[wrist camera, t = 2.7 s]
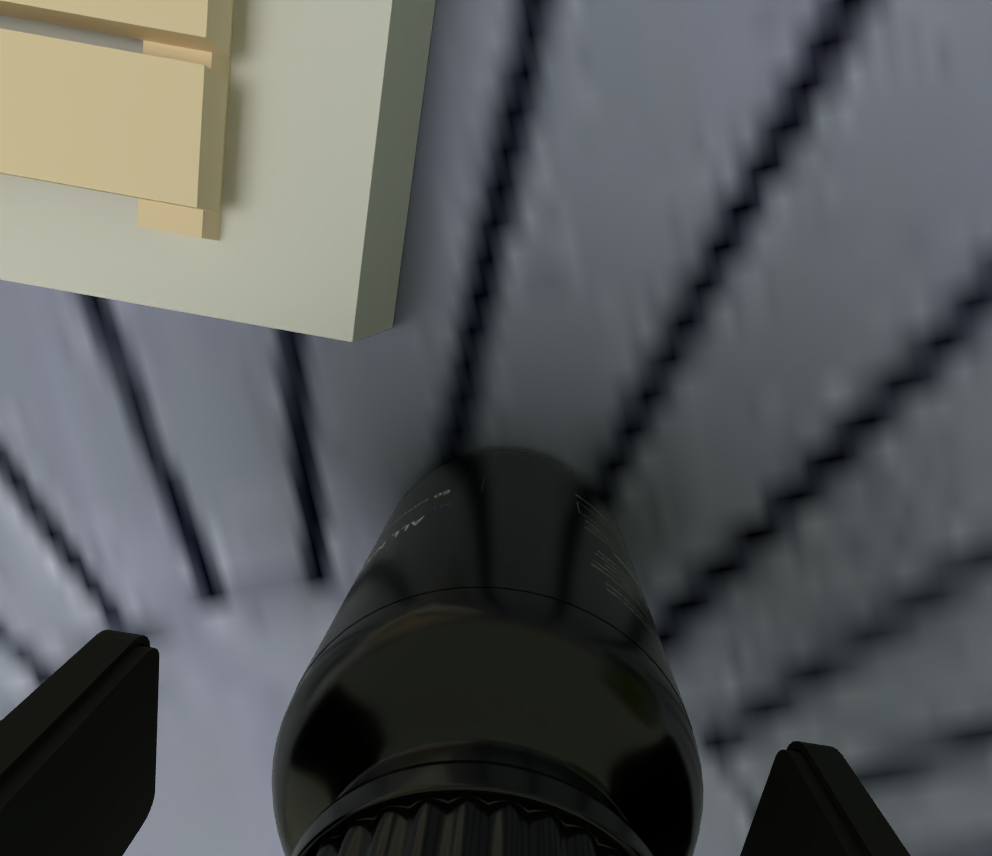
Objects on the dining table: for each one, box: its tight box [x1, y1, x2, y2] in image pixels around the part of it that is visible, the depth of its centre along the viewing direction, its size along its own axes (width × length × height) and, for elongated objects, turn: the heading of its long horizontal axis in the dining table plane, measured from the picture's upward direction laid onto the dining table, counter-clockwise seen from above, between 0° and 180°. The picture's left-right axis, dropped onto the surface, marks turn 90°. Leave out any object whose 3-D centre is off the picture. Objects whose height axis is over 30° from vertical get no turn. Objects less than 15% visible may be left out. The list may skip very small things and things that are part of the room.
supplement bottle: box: [272, 450, 703, 856], centre depth 12 cm, size 7×7×12 cm
